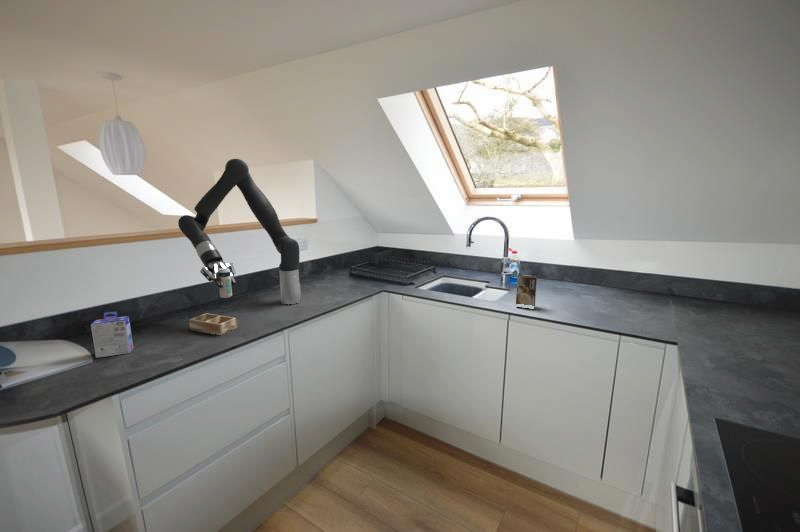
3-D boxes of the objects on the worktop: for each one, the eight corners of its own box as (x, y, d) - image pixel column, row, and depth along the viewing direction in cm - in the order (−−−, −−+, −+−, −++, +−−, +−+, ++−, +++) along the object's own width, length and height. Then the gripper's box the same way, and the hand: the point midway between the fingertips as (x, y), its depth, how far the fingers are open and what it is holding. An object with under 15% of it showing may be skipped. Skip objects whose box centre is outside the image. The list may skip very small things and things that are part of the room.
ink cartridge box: (134, 347, 133) (128, 309, 130) (130, 353, 128) (124, 313, 125) (100, 352, 129) (93, 312, 126) (95, 358, 124) (88, 317, 121)
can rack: (207, 323, 158) (206, 313, 157) (237, 328, 152) (236, 317, 151) (189, 330, 150) (188, 319, 149) (220, 335, 144) (219, 324, 143)
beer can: (222, 295, 157) (220, 267, 154) (234, 295, 157) (232, 267, 155) (217, 298, 152) (215, 270, 150) (229, 298, 152) (227, 270, 150)
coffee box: (535, 306, 184) (537, 275, 181) (534, 310, 178) (537, 278, 175) (516, 304, 188) (518, 273, 184) (514, 308, 182) (517, 276, 179)
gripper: (194, 250, 149) (214, 284, 145) (227, 246, 160) (246, 277, 157) (189, 262, 152) (208, 294, 148) (221, 257, 164) (239, 287, 160)
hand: (227, 285), depth 153 cm, fingers closed on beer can, 4 cm apart
